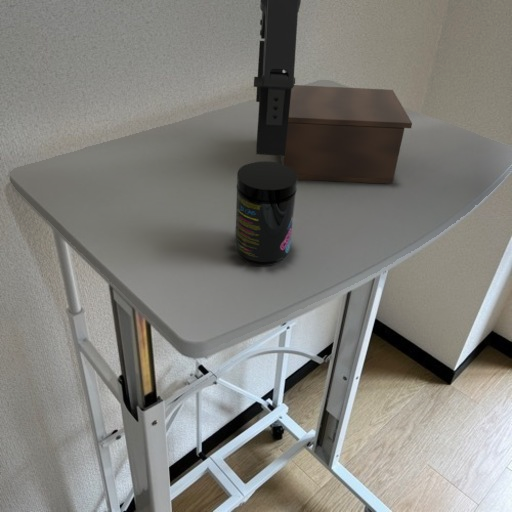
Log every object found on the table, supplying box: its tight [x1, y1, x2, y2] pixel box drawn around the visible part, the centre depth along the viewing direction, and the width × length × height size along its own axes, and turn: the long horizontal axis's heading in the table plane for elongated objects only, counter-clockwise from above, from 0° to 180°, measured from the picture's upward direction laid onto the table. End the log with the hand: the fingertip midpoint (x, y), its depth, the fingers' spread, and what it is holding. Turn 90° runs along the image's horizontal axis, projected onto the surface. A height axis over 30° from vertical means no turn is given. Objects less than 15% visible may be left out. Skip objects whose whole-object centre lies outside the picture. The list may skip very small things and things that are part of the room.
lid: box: [288, 84, 413, 129], centre depth 83 cm, size 18×14×1 cm
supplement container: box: [234, 160, 299, 267], centre depth 64 cm, size 7×7×10 cm
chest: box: [280, 123, 405, 185], centre depth 85 cm, size 17×14×9 cm
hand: (269, 125), depth 57 cm, fingers open, 13 cm apart
